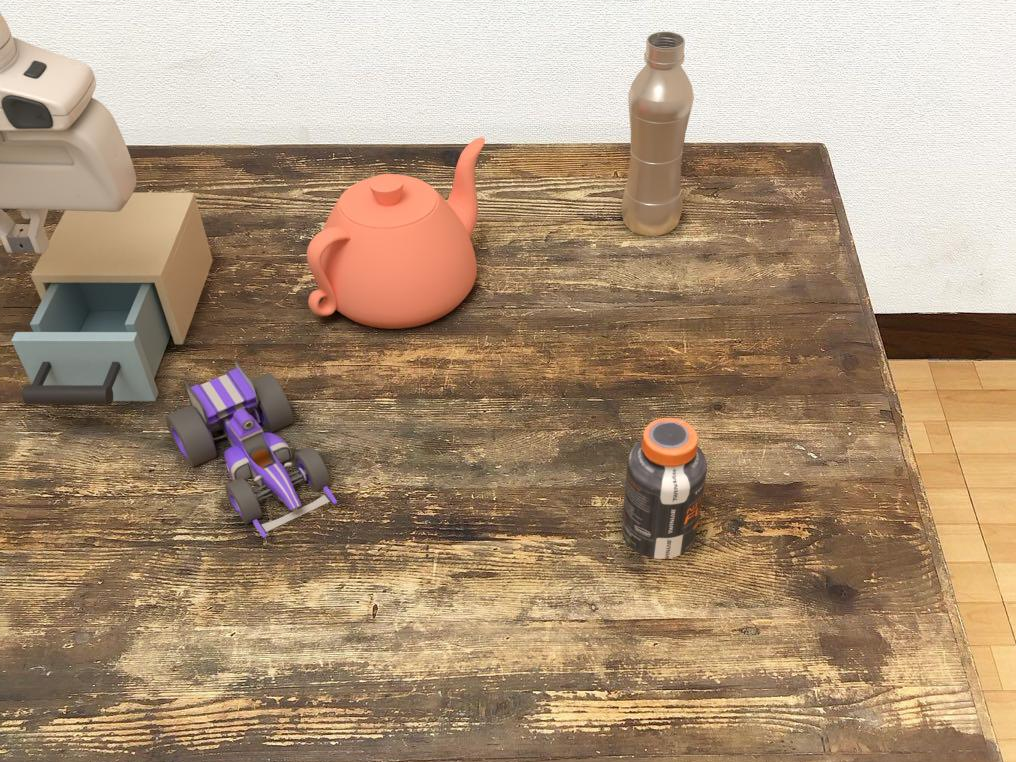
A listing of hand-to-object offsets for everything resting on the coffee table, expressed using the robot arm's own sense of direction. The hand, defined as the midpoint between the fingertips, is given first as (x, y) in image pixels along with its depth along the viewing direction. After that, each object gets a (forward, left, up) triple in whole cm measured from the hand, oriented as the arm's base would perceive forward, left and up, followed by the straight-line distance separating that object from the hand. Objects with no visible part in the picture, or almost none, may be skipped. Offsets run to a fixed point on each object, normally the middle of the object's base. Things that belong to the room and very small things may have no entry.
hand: (29, 249), depth 87 cm
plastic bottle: (+53, +26, -15) cm, 61 cm away
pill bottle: (+51, -18, -15) cm, 56 cm away
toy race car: (+18, -11, -15) cm, 26 cm away
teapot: (+28, +15, -15) cm, 35 cm away
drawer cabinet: (+2, +12, -15) cm, 19 cm away
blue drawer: (+2, +1, -14) cm, 14 cm away
